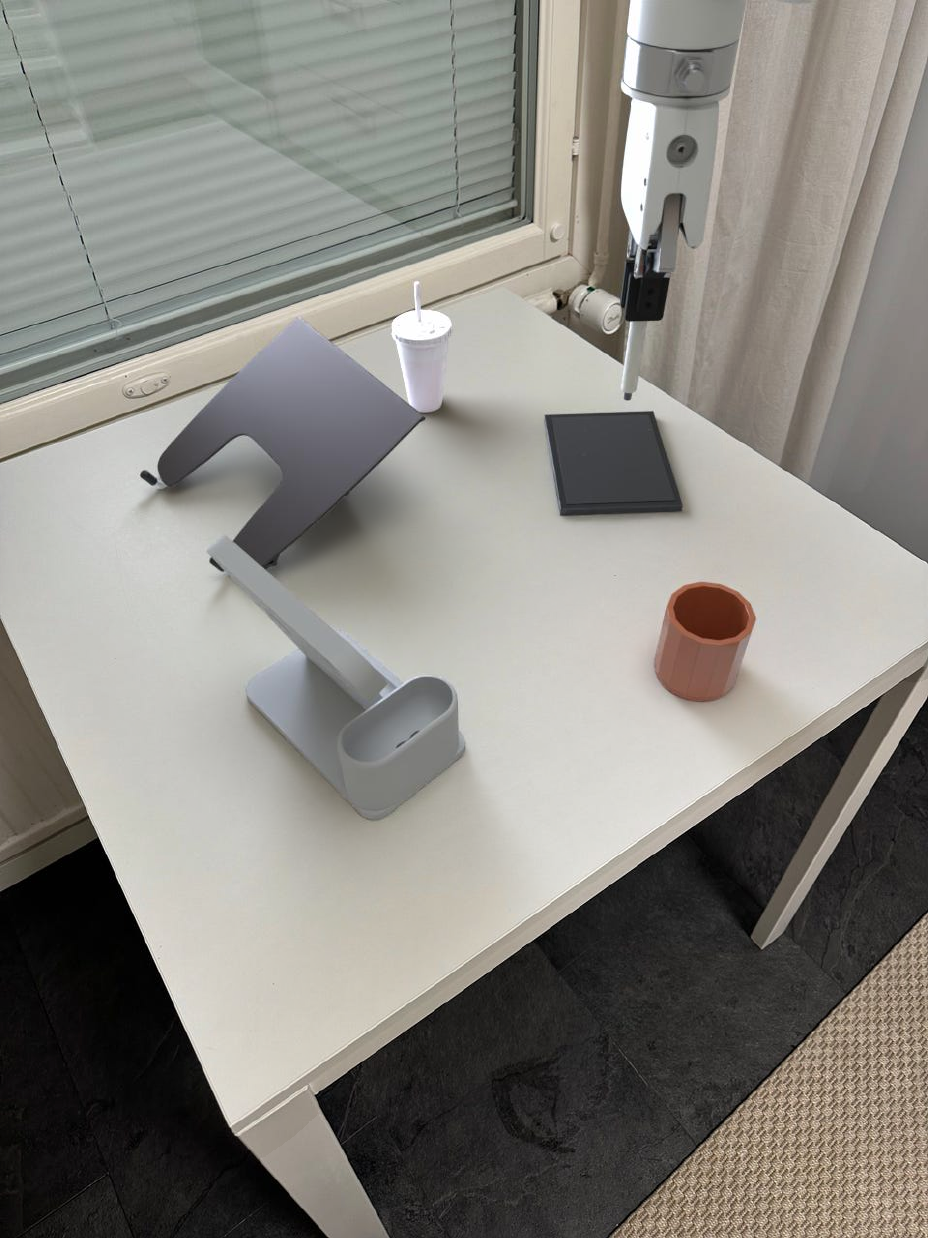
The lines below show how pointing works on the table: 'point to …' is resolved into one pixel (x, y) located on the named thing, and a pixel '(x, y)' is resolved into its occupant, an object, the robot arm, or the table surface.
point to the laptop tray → (295, 433)
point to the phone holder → (347, 701)
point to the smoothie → (423, 354)
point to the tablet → (610, 464)
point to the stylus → (633, 355)
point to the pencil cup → (703, 640)
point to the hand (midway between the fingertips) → (641, 311)
